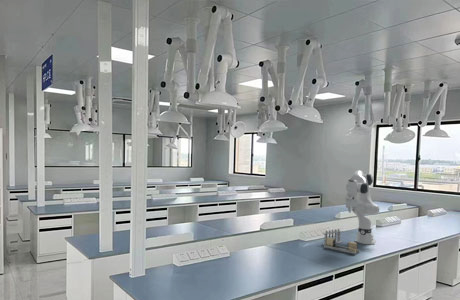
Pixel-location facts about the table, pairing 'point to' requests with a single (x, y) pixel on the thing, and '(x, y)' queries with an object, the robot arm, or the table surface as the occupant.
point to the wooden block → (352, 246)
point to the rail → (338, 247)
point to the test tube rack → (332, 236)
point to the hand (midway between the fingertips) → (351, 211)
